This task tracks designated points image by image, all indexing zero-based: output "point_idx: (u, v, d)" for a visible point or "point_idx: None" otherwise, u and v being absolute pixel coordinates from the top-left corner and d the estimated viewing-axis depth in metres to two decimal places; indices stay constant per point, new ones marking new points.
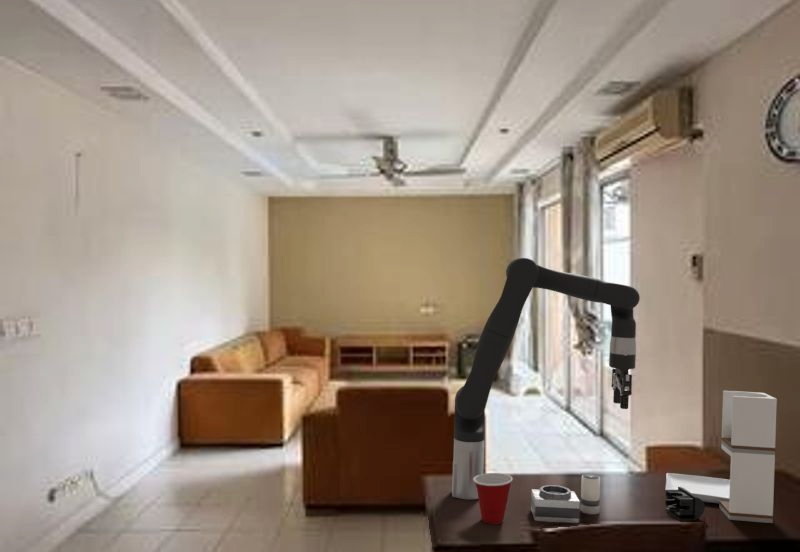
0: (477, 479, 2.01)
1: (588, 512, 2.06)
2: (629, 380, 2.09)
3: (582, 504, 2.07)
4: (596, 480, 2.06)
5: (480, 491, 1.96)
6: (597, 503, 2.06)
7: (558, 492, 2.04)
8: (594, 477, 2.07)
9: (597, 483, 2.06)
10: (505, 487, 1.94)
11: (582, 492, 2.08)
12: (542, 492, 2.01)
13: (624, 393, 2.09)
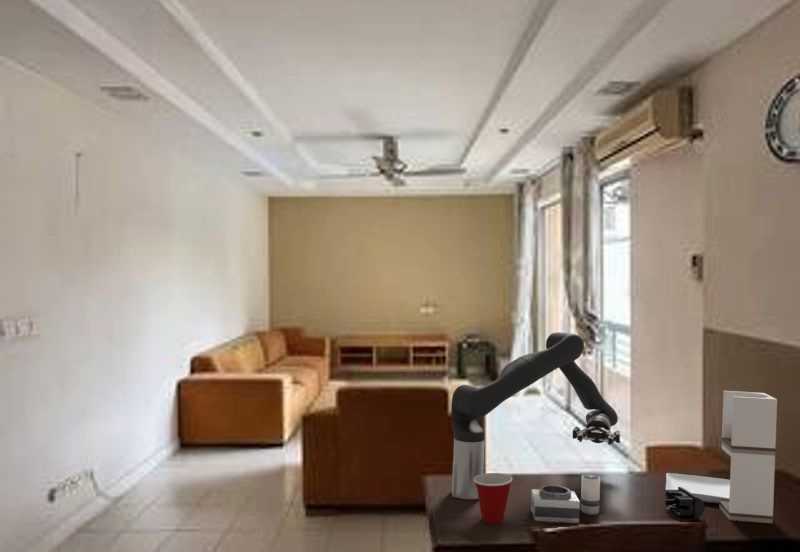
0: (477, 479, 2.01)
1: (588, 512, 2.06)
2: None
3: (582, 504, 2.07)
4: (596, 480, 2.06)
5: (480, 491, 1.96)
6: (597, 503, 2.06)
7: (558, 492, 2.04)
8: (594, 477, 2.07)
9: (597, 483, 2.06)
10: (505, 487, 1.94)
11: (582, 492, 2.08)
12: (542, 492, 2.01)
13: (619, 436, 2.21)
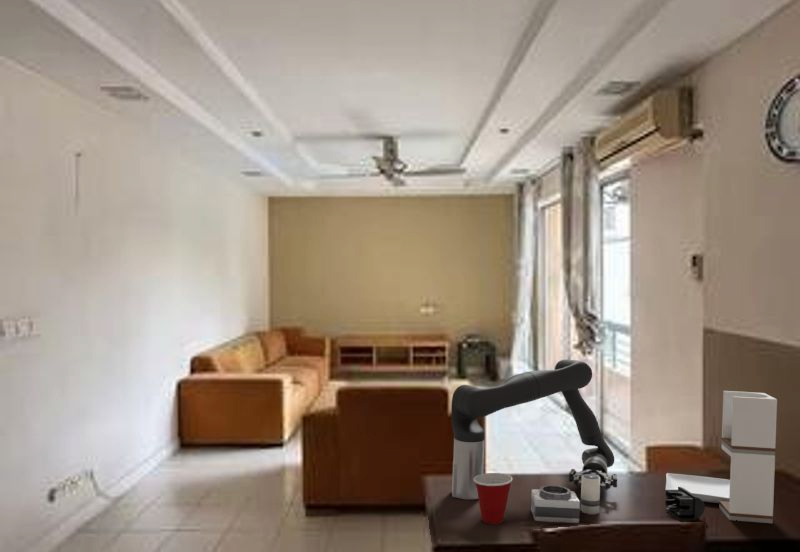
0: (477, 479, 2.01)
1: (588, 512, 2.06)
2: None
3: (582, 504, 2.07)
4: (596, 480, 2.06)
5: (480, 491, 1.96)
6: (597, 503, 2.06)
7: (558, 492, 2.04)
8: (594, 477, 2.07)
9: (597, 483, 2.06)
10: (505, 487, 1.94)
11: (582, 492, 2.08)
12: (542, 492, 2.01)
13: (616, 480, 2.17)
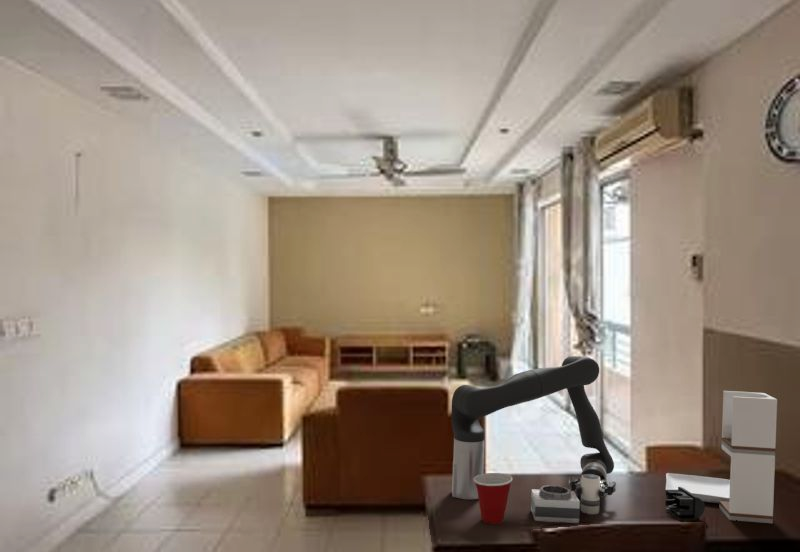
0: (477, 479, 2.01)
1: (588, 512, 2.06)
2: (614, 489, 2.12)
3: (582, 504, 2.07)
4: (596, 480, 2.06)
5: (480, 491, 1.96)
6: (597, 503, 2.06)
7: (558, 492, 2.04)
8: (594, 477, 2.07)
9: (597, 483, 2.06)
10: (505, 487, 1.94)
11: (582, 492, 2.08)
12: (542, 492, 2.01)
13: (611, 488, 2.09)
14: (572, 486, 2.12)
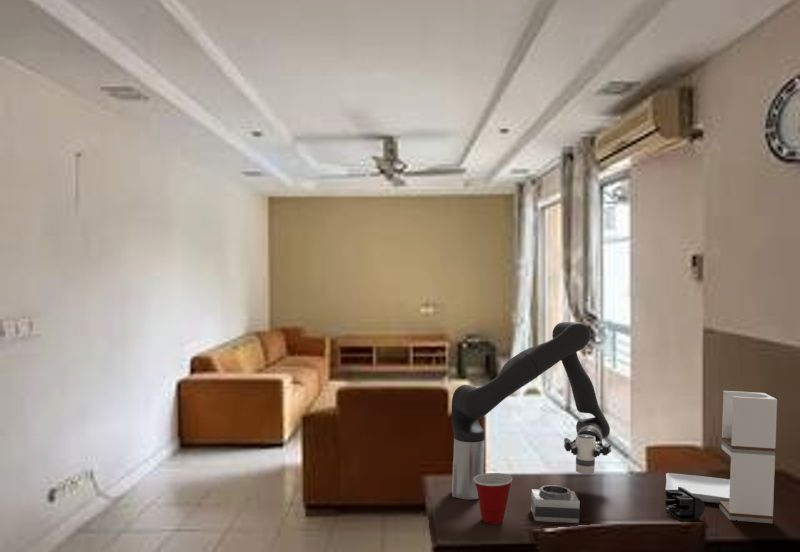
0: (477, 479, 2.01)
1: (583, 472, 2.05)
2: (609, 450, 2.11)
3: (577, 464, 2.06)
4: (591, 440, 2.05)
5: (480, 491, 1.96)
6: (592, 463, 2.05)
7: (558, 492, 2.04)
8: (589, 437, 2.06)
9: (592, 443, 2.05)
10: (505, 487, 1.94)
11: (577, 452, 2.06)
12: (542, 492, 2.01)
13: (606, 448, 2.07)
14: (567, 447, 2.11)
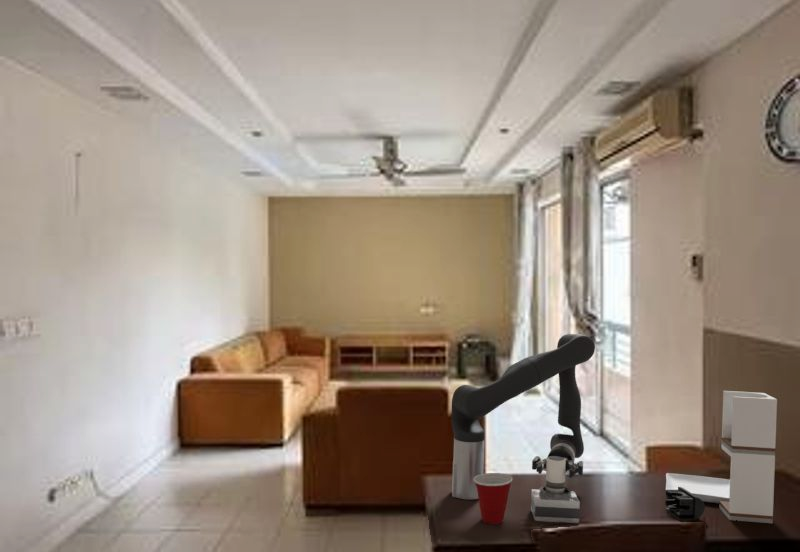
0: (477, 479, 2.01)
1: None
2: None
3: (547, 486, 2.02)
4: (561, 462, 2.01)
5: (480, 491, 1.96)
6: (562, 485, 2.01)
7: None
8: (559, 459, 2.02)
9: (562, 465, 2.01)
10: (505, 487, 1.94)
11: (547, 474, 2.02)
12: (542, 492, 2.01)
13: (582, 467, 2.03)
14: (533, 465, 2.08)
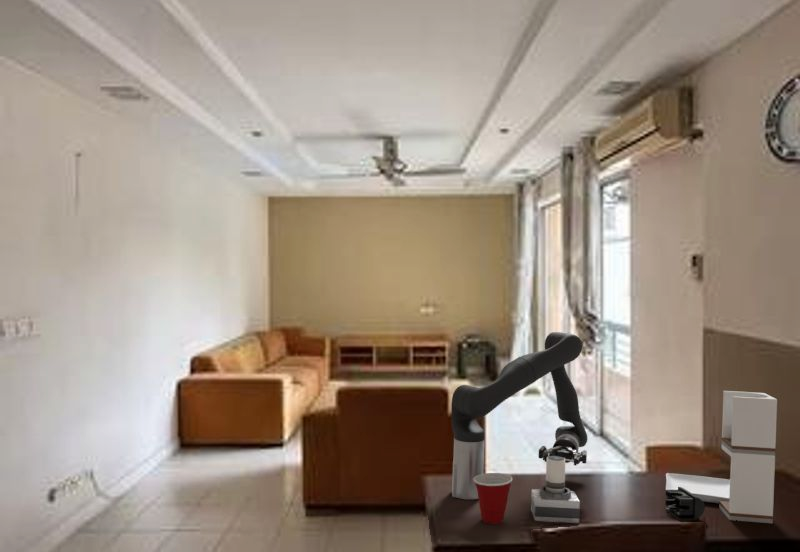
0: (477, 479, 2.01)
1: None
2: None
3: (547, 486, 2.02)
4: (561, 462, 2.01)
5: (480, 491, 1.96)
6: (562, 485, 2.01)
7: None
8: (559, 459, 2.02)
9: (562, 465, 2.01)
10: (505, 487, 1.94)
11: (547, 474, 2.02)
12: (542, 492, 2.01)
13: (586, 456, 2.16)
14: (539, 454, 2.20)
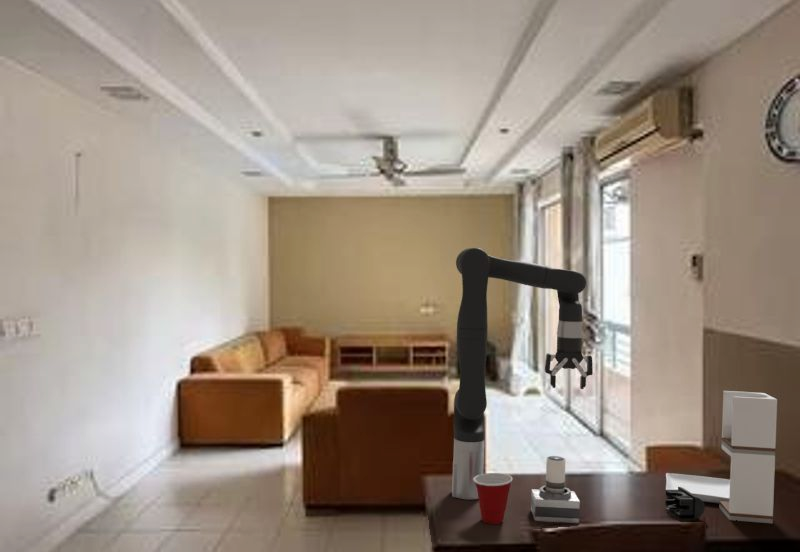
0: (477, 479, 2.01)
1: None
2: None
3: (547, 486, 2.02)
4: (561, 462, 2.01)
5: (480, 491, 1.96)
6: (562, 485, 2.01)
7: None
8: (559, 459, 2.02)
9: (562, 465, 2.01)
10: (505, 487, 1.94)
11: (547, 474, 2.02)
12: (542, 492, 2.01)
13: None
14: (546, 372, 2.23)
